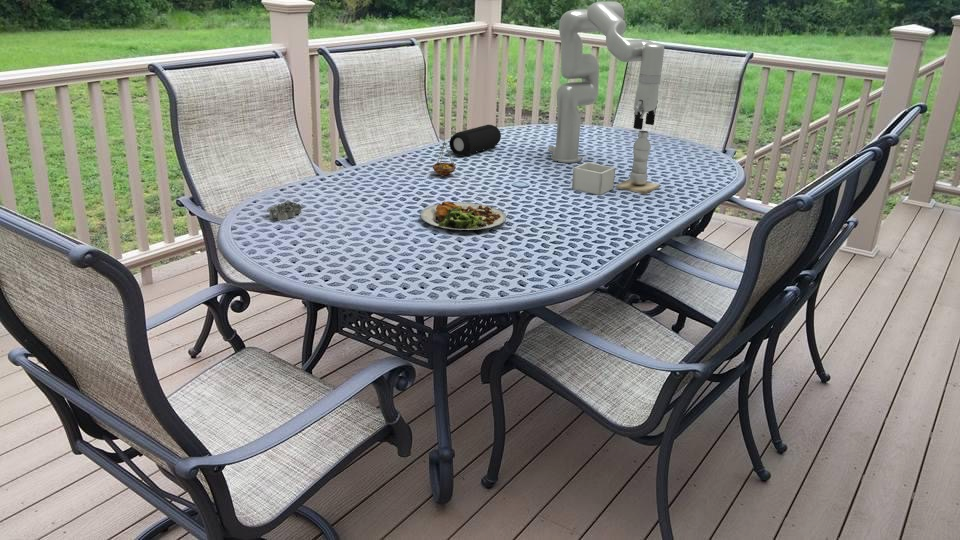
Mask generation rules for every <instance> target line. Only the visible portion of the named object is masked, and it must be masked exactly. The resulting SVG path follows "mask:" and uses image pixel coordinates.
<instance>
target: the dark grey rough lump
mask: <svg viewBox="0 0 960 540" xmlns="http://www.w3.org/2000/svg"><path fill="white" fill-rule="evenodd" d="M304 207H305V206H304V205H300V203H297V202H293V201H290V200H289V199H287V200H286V201H284V202H281V203H278V204H276V205H274V206H269V207H268V208H267V209H266V212H268V213H269V219H270V218H271V219H270V220H274V219H273V218H278V219H277V221H278V220H279V221H278V222H281V221H280V220H286V221H288V220H289V218H288V217H294V216H296V215H295V214H300V213H302V210H303V208H304ZM294 218H295V217H294ZM287 219H288V220H287Z"/></svg>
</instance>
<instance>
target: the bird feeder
mask: <svg viewBox="0 0 960 540" xmlns="http://www.w3.org/2000/svg"><path fill="white" fill-rule="evenodd" d="M443 102H444V110H443V111H444V113H443V114H444V115H443V119H444V120H443V131H444V132H443V145H442V146H441V147H442V148H441V150H440V154H439V157H438V159H437V161H436V163H434V164H432V169H433V171H434V172H435V173H437V174H438V175H440V176H441V175H444V176H447V175H448V176H449V174H452V173H454V172H455V170H456V169H457V166H456V164H455V163H454V162H453V160H452V158H451V155H450V153H449V150H448V147H447V144H446V141H445V139H446V138H445V135H446V130H445V129H446V127H445V126H446V99H444V100H443ZM444 149H446V151H447V155H448V156H449V159H450V162H442V159H443V154H444Z"/></svg>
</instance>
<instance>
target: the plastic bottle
mask: <svg viewBox="0 0 960 540" xmlns="http://www.w3.org/2000/svg"><path fill="white" fill-rule="evenodd" d="M637 133H638V134H637V137H638V138H636V140H635V141H634V142H633V144H632V145H633V147H632V148H633V149H632V151H633V152H632V153H633V158H632V159H633V161H632V166H631V167H632V168H631V171H630V175H629V179H630V182H631V183H632V184H634V185H644V184H645V183H646V182H648V161H649V156H650V151H651V147H652V146H651V143H650V141H649V139H648V138H649V131H647V130H639V131H638V132H637Z"/></svg>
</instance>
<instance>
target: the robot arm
mask: <svg viewBox="0 0 960 540" xmlns="http://www.w3.org/2000/svg"><path fill="white" fill-rule="evenodd" d="M624 17H625V8H624V7H623V5H622V4H621V3H619V2H618V1H612V0H611V1H610V0H609V1H596V2H593V3H591V4H590V5H589V6H588V8H587V9H585V8H584V9H583V8H582V9H581V8H580V9H571V10H568V11H566V12H565V13H563V14H562V16H560V19H559V24H558V28H559V29H558V32H559V37H560V73H561V76H562V77H563V78H564V79H566V80H575V79H576V80H577V79H581V81H572V82H565V83H562V84H561V85H560V86H559V87H558V88H557V91H556V103H557V123H556V124H557V125H556V137H555V138H556V140H555V146H553V145H552V146H551V145H549V146H548V148H547V152H550V153H552V154H551V157H550V158H551V160H552V161H555V162H557V161H558V162H559V163H564V164H565V163H566V164H572V163H573V164H574V163H579V162H581V161H582V156H581V155H580V154H579V148H580V147H579V145H580V137H581V136H580V135H581V133H580V132H581V122H582V117H581V116H582V115H581V112H580V111H579V109H578V107H580V106H590V105H593V104H594V103H595V102H596V101H597V100H598V97H599V81H600V80H599V77H600V67H599V62H598V59H597V58H596V56H595V55H593V54H591V53H583V41H582V38H581V36H580V35H579V33H594V32H595V33H597V32H601V33H602V34H603V36H605V44H606V48H607V49H608V51H609V52H610V54H611V55H612V56H613V57H615V59H617V60H618V61H620V62H623V63H630V62H631V63H633V62H640V67H639V76H638V85H637V89H636V92H635V99H634V104H633V111H634V112H633V113H634V116H633V118H634V120H633V129H635V130H639V131H642V130H643V125H644V115H645V124H646V125H648V126H649V125H650V126H654V125H655V118H656V113H657V108H658V103H659V100H658V99H659V87H660V86H659V85H660V84H661V78H662V70H663V63H664V55H665V46H664V44H662V43H658V42H653V41H650V40H649V39H648V40H647V39H625V38H623V37H622V36H623V34H624V33H625V31H626V28H627V23H626V20H625V18H624ZM645 113H646V114H645Z"/></svg>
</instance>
